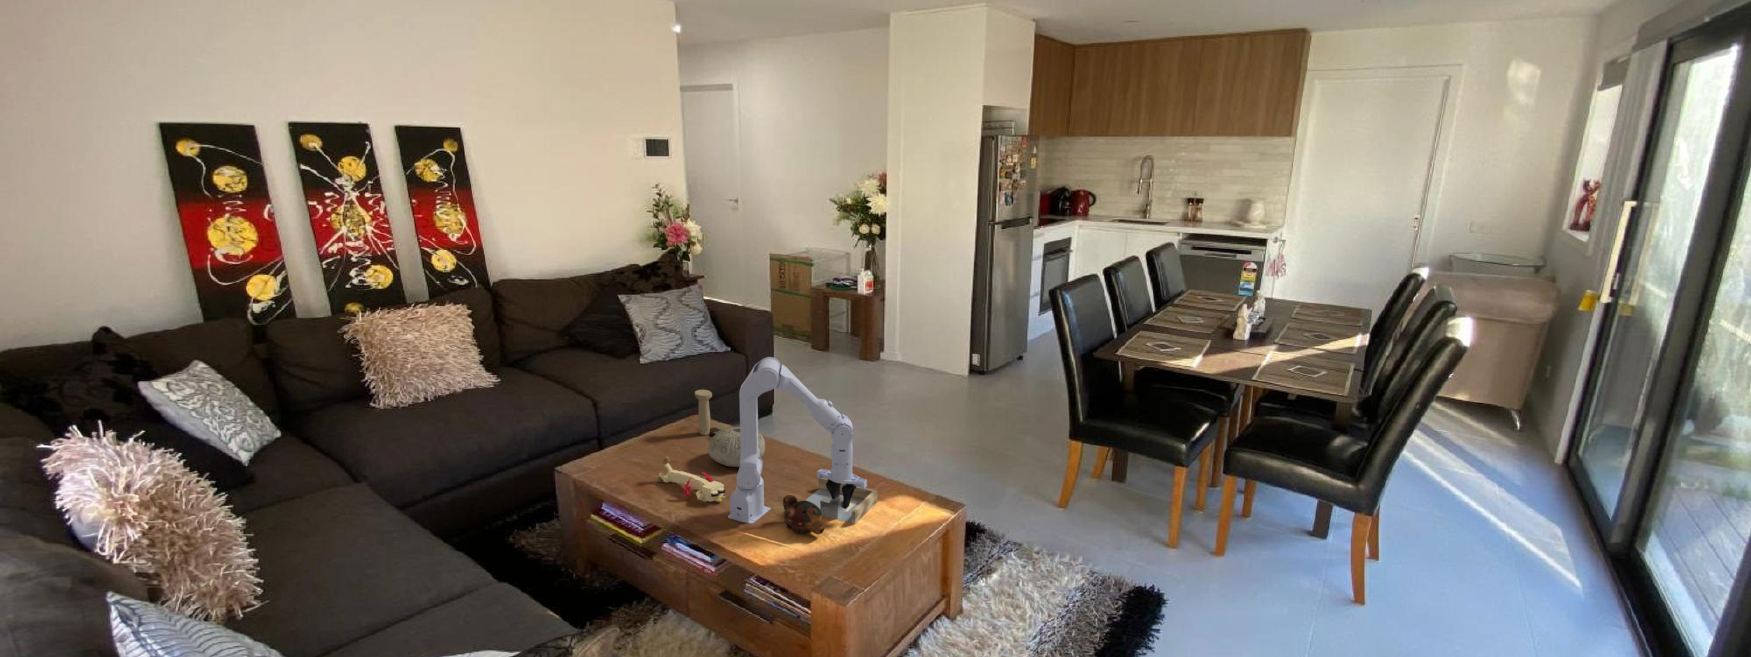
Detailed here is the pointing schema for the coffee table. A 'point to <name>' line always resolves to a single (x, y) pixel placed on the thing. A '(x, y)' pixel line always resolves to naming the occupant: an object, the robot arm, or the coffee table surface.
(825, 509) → the bracket
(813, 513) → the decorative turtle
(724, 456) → the decorative shell
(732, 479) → the coffee table surface
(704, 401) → the handle
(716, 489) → the cream blocky elongated figure
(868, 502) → the walls
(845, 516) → the board
